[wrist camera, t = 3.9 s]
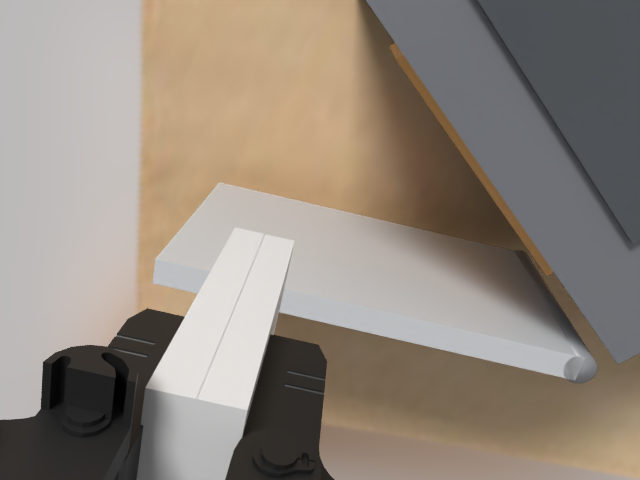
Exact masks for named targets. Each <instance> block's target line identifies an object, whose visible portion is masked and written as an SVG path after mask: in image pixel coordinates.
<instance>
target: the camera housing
mask: <svg viewBox="0 0 640 480" xmlns="http://www.w3.org/2000/svg"><path fill="white" fill-rule="evenodd" d="M366 2H367V3H368V4H369V6H370V7H371V9H372V10H373V12H374V13H375V15H376V16H377V17H378V19H379V20H380V22H381V23H382V25H383V26H384V28H385V29H386V31H387V32H388V33H389V35H390V36H391V38H392V39H393V41H394V43H393V44H392V45H391V46H389V47H390V49H391V51H392V53H393V55H394V57H395V59H396V61H397V62H398V64H399V65H400V67H401V68H402V70H403V71H404V72H405V74H406V75H407V77H408V78H409V80H410V81H411V82H412V84H413V85H414V87H415V88H416V90H417V91H418V92H419V94H420V95H421V97H422V98H423V100H424V101H425V102H426V104H427V105H428V107H429V108H430V110H431V111H432V113H433V114H434V115H435V117H436V118H437V120H438V121H439V123H440V124H441V125H442V127H443V128H444V130H445V131H446V133H447V134H448V135H449V137H450V138H451V140H452V141H453V143H454V144H455V146H456V147H457V148H458V150H459V151H460V153H461V154H462V156H463V157H464V158H465V160H466V161H467V163H468V164H469V166H470V167H471V168H472V170H473V171H474V173H475V174H476V176H477V177H478V178H479V180H480V181H481V183H482V184H483V186H484V187H485V189H486V190H487V191H488V193H489V194H490V196H491V197H492V199H493V200H494V201H495V203H496V204H497V206H498V207H499V209H500V210H501V211H502V213H503V214H504V216H505V217H506V219H507V220H508V222H509V223H510V224H511V226H512V227H513V229H514V230H515V232H516V233H517V234H518V236H519V237H520V239H521V240H522V242H523V243H524V244H525V246H526V247H527V249H528V250H529V252H530V253H531V254H532V256H533V257H534V259H535V260H536V262H537V263H538V265H539V266H540V267H541V269H542V270H543V272H544V273H545V275H546V276H547V277H548V276H549V275H551V274H553V273H555V275H556V276H557V278H558V279H559V281H560V282H561V283H562V285H563V286H564V288H565V289H566V291H567V292H568V293H569V295H570V296H571V298H572V299H573V301H574V302H575V304H576V305H577V306H578V308H579V309H580V311H581V312H582V314H583V315H584V317H585V318H586V319H587V321H588V322H589V324H590V325H591V327H592V328H593V330H594V331H595V332H596V334H597V335H598V337H599V338H600V340H601V341H602V343H603V344H604V345H605V347H606V348H607V350H608V351H609V353H610V354H611V356H612V357H613V358H614V360H615V361H616V363H617V364H620V363H622V362H624V361H626V360H628V359H630V358H631V357H633V356H635V355H637V354H639V353H640V0H366Z"/></svg>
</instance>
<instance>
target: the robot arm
mask: <svg viewBox="0 0 640 480" xmlns="http://www.w3.org/2000/svg"><path fill="white" fill-rule="evenodd" d="M294 242H295V241H293V240H289V239H285V238H280V237H276V236H271V235H267V234H263V233H258V232H254V231H249V230H245V229H241V228H236V227H235V228H234V230H233V232H232V234H231V236H230V237H229V239H228V241H227V243H226V244H225V246H224V248H223V250H222V252H221V253H220V255H219V257H218V259H217V261H216V262H215V264H214V266H213V268H212V270H211V271H210V273H209V275H208V277H207V278H206V280H205V282H204V284H203V286H202V287H201V289H200V291H199V293H198V295H197V296H196V298H195V300H194V302H193V303H192V305H191V307H190V309H189V311H188V312H187V314H186V316H185V317H183V316H179V315H174V314H170V313H165V312H161V311H156V310H152V309H146V310H144V311H142V312H140V313H138V314H136V315H134V316H133V317H131V318H129V319H128V320H127V321H126V322H125V324H124V325H123V326H122V328H121V329H120V331H119V332H118V333H117V336H116V337H114V339H113V340H112V342H111V343H110V344H109V346H108V347H104V346H95V345H85V346H76V347H70V348H68V349H65V350H62V351H59V352H56V353H54V354H53V355H52V356H50V357H49V358H48V359H46V360H45V361H44V362H43V376H42V398H41V409H40V411H39V412H38V413H37V415H36V416H34V417H30V418H25V419H14V420H0V480H334V479H333V478H332V477H331V476H330V475H329V473H328V472H327V471H326V469H325V468H324V466H323V464H322V461H321V459H320V456H319V439H320V430H321V419H322V409H323V398H324V388H325V377H326V367H327V361H326V359H325V357H324V355H323V353H322V351H321V349H320V347H319V345H316V344H312V343H307V342H303V341H299V340H294V339H290V338H285V337H281V336H276V335H274V333H275V329H276V324H277V320H278V315H279V310H280V306H281V301H282V297H283V292H284V288H285V283H286V278H287V274H288V269H289V265H290V260H291V256H292V251H293V246H294Z"/></svg>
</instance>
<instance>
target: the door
mask: <svg viewBox="0 0 640 480" xmlns="http://www.w3.org/2000/svg"><path fill="white" fill-rule="evenodd" d="M235 227H236V228H241V229H245V230H249V231H254V232H258V233H263V234H267V235H271V236H276V237H280V238H285V239H289V240H293V241H295V242H294V246H293V251H292V256H291V260H290V265H289V269H288V274H287V278H286V283H285V288H284V292H283V297H282V301H281V306H280V310H279V312H280V313H284V314H289V315H293V316H297V317H302V318H306V319H310V320H315V321H319V322H324V323H328V324H332V325H337V326H341V327H345V328H350V329H354V330H358V331H363V332H367V333H371V334H376V335H380V336H384V337H389V338H393V339H397V340H402V341H406V342H410V343H415V344H419V345H423V346H428V347H432V348H436V349H441V350H445V351H449V352H454V353H458V354H462V355H467V356H471V357H475V358H480V359H484V360H488V361H493V362H497V363H501V364H506V365H510V366H514V367H519V368H523V369H528V370H532V371H536V372H541V373H545V374H549V375H554V376H558V377H562V378H567V379H568V380H569V381H571V382H574V383H584V382H587V381H589V380H590V379H592V378H593V377H594V376H595V374H596V372H597V364H596V362H595V360H594V359H593V357H592V355H591V354H590V352H589V351H588V349H587V348H586V346H585V344H584V343H583V341H582V340H581V338H580V337H579V335H578V333H577V332H576V330H575V329H574V327H573V326H572V324H571V322H570V321H569V319H568V318H567V316H566V315H565V313H564V311H563V310H562V308H561V307H560V305H559V304H558V302H557V300H556V299H555V297H554V296H553V294H552V293H551V291H550V289H549V288H548V286H547V285H546V283H545V282H544V280H543V278H542V277H541V275H540V274H539V272H538V271H537V269H536V267H535V266H534V264H533V263H532V261H531V260H530V258H529V256H528V255H527V254H526V253H525V252H524V251H521V250H515V251H513V250H509V249H504V248H500V247H496V246H492V245H487V244H483V243H479V242H474V241H470V240H466V239H461V238H457V237H453V236H449V235H444V234H440V233H436V232H431V231H427V230H423V229H418V228H414V227H410V226H405V225H401V224H397V223H393V222H388V221H384V220H380V219H375V218H371V217H367V216H362V215H358V214H354V213H350V212H345V211H341V210H337V209H332V208H328V207H324V206H319V205H315V204H311V203H307V202H302V201H298V200H294V199H289V198H285V197H281V196H276V195H272V194H268V193H264V192H259V191H255V190H251V189H246V188H242V187H238V186H233V185H229V184H225V183H221V182H219V184H218V185H217V186H216V187H215V188H214V189H213V191H212V192H211V193H210V194H209V195H208V197H207V198H206V199H205V200H204V201H203V203H202V204H201V205H200V206H199V207H198V209H197V210H196V211H195V212H194V213H193V215H192V216H191V217H190V218H189V219H188V221H187V222H186V223H185V224H184V225H183V227H182V228H181V229H180V230H179V231H178V233H177V234H176V235H175V236H174V237H173V239H172V240H171V241H170V242H169V243H168V245H167V246H166V247H165V248H164V249H163V251H162V252H161V253H160V254H159V255H158V257H157V258H156V259H155V268H154V276H153V283H154V284H159V285H163V286H167V287H172V288H176V289H180V290H185V291H189V292H193V293H199V291H200V289H201V287H202V286H203V284H204V282H205V280H206V278H207V277H208V275H209V273H210V271H211V270H212V268H213V266H214V264H215V262H216V261H217V259H218V257H219V255H220V253H221V252H222V250H223V248H224V246H225V244H226V243H227V241H228V239H229V237H230V236H231V234H232V232H233V230H234V228H235Z"/></svg>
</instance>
